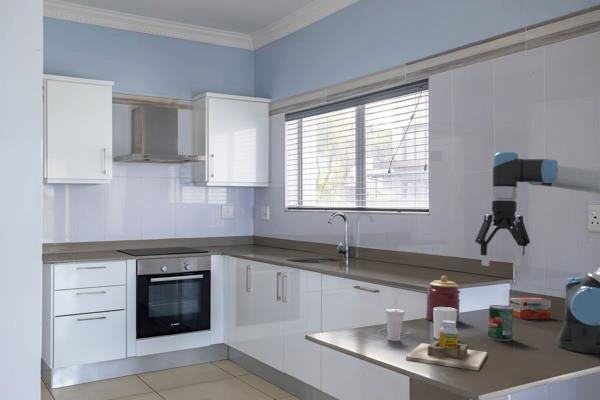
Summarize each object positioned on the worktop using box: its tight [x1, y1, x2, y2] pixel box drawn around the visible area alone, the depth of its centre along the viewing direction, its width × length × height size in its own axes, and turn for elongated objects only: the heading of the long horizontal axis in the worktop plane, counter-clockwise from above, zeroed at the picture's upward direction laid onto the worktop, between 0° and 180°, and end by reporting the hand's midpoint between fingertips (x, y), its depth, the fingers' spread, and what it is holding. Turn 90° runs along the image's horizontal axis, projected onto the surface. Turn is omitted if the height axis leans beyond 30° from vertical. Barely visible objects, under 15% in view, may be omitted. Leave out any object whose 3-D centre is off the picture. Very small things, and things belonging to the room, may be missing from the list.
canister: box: [425, 275, 461, 323], centre depth 239 cm, size 13×13×18 cm
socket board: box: [405, 339, 488, 371], centre depth 177 cm, size 20×20×4 cm
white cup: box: [432, 307, 457, 340], centre depth 204 cm, size 8×8×10 cm
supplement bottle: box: [438, 320, 459, 349], centre depth 177 cm, size 5×5×10 cm
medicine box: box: [509, 297, 552, 320], centre depth 256 cm, size 15×8×8 cm, turn 107°
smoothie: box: [384, 296, 406, 342], centre depth 198 cm, size 6×6×14 cm
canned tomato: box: [487, 304, 514, 342], centre depth 208 cm, size 8×8×11 cm
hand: (502, 265), depth 195 cm, fingers open, 13 cm apart
